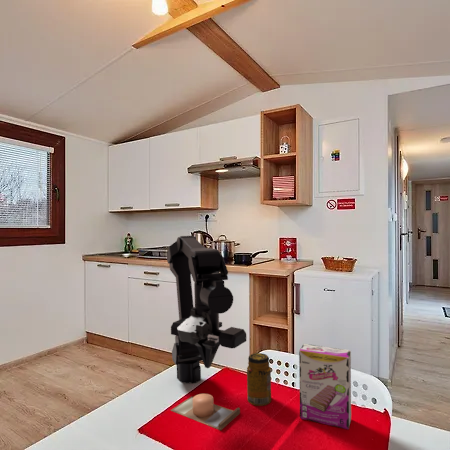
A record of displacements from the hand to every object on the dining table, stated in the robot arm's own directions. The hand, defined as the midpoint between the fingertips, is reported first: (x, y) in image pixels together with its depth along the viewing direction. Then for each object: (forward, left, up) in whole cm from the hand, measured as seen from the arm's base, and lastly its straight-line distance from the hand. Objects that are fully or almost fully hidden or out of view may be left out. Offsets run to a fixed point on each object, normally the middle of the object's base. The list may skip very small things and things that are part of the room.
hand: (207, 367), depth 83 cm
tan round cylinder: (-2, 0, -11) cm, 11 cm away
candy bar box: (+24, +13, -12) cm, 30 cm away
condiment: (+8, +11, -12) cm, 18 cm away
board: (-1, 0, -12) cm, 12 cm away
